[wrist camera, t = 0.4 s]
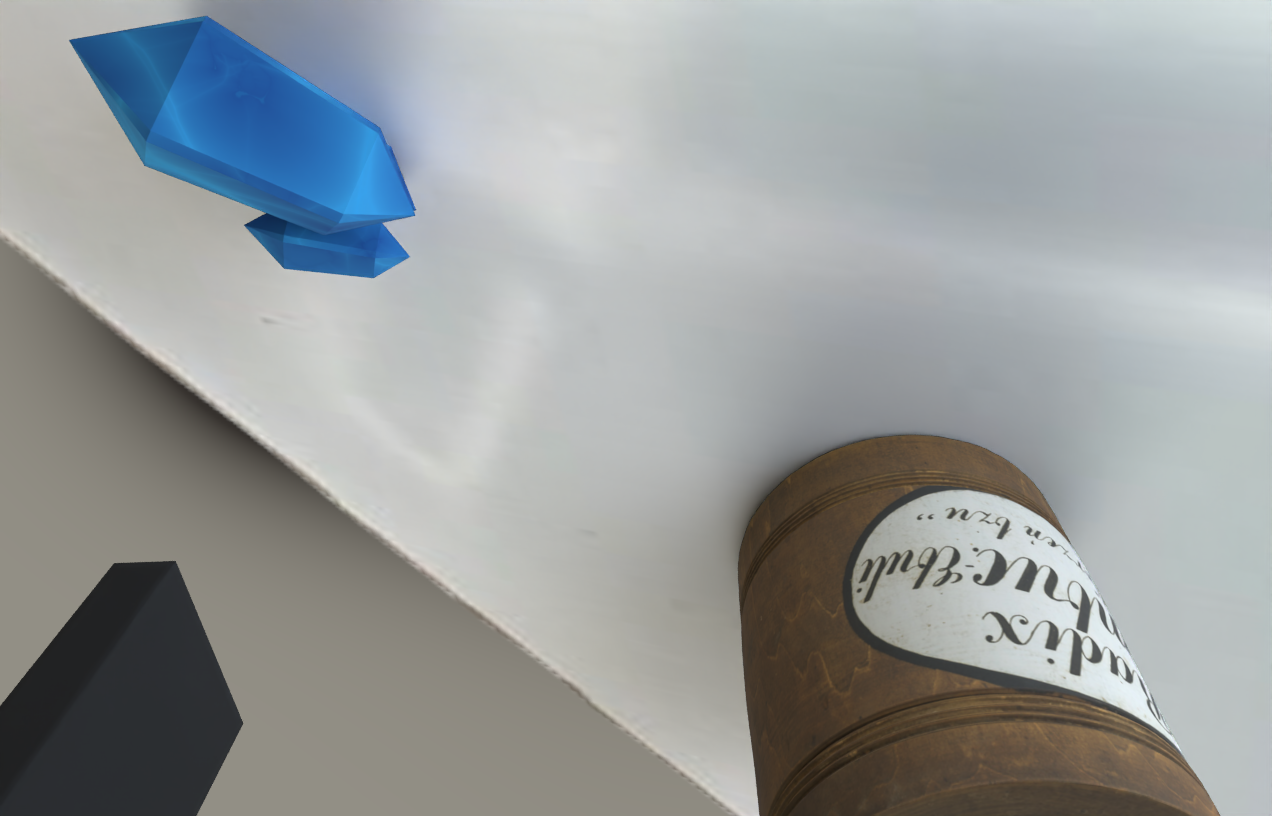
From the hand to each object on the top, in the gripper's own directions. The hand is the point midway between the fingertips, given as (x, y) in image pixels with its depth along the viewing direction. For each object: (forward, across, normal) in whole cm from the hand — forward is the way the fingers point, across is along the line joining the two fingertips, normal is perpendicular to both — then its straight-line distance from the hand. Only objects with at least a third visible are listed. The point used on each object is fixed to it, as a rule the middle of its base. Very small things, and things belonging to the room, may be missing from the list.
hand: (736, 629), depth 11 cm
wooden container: (+28, +8, -22) cm, 36 cm away
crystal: (+28, -15, 0) cm, 32 cm away
